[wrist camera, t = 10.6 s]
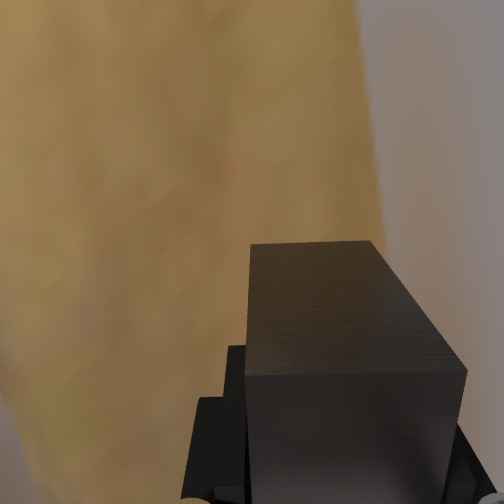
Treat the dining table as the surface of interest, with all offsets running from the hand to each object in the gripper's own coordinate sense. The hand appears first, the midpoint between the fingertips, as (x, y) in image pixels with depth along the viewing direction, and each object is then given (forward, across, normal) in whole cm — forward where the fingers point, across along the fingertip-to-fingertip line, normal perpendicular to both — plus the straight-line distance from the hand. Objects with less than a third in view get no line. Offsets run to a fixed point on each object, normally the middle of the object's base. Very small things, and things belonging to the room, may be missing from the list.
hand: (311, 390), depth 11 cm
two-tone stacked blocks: (+1, 0, +3) cm, 3 cm away
